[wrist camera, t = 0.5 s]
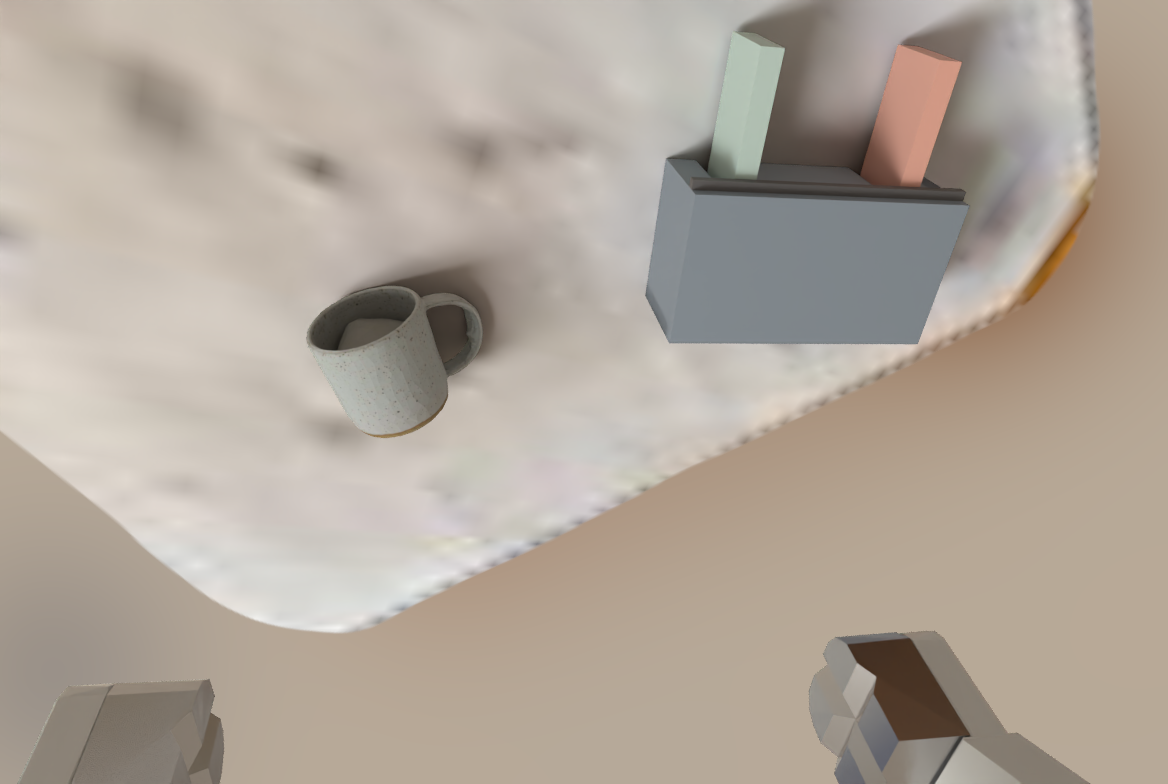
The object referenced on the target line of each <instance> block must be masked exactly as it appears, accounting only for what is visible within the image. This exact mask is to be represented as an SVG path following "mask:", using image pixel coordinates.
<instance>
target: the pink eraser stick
mask: <svg viewBox="0 0 1168 784" xmlns="http://www.w3.org/2000/svg"><path fill="white" fill-rule="evenodd" d="M961 64H962V62H961V61H958V60H955V59H952V58H950V57H947V56H944V55H941V54H938V53H936V52H933V51H930V50H927V49H924V48H921V47H919V46H908V45H898V46H897V50H896V53H895V57H894V60H893V64H892V67H891V71H890V74H889V77H888V81H887V84H886V88H885V91H884V95H883V98H882V102H881V105H880V108H879V112H878V115H877V119H876V122H875V126H874V129H873V133H872V136H871V139H870V143H869V146H868V150H867V153H866V157H865V160H864V164H863V167H862V170H861V174H860V177H862V178H863V179H865V180H866V181H867V182H869V183H870V184H872V185H885V186H907V187H920V186H921V183H922V180H923V177H924V174H925V171H926V168H927V165H928V162H929V159H930V156H931V153H932V150H933V147H934V144H935V141H936V138H937V135H938V132H939V129H940V126H941V123H942V120H943V117H944V114H945V111H946V108H947V105H948V102H949V99H950V96H951V94H952V91H953V88H954V85H955V82H956V79H957V76H958V73H959V70H960V67H961Z"/></svg>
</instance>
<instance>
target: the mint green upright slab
mask: <svg viewBox="0 0 1168 784" xmlns="http://www.w3.org/2000/svg"><path fill="white" fill-rule="evenodd" d="M784 51H785V48H784V47H782V46H780V45H778V44H776V43H774V42H772V41H770V40H768V39H766V38H764V37H762V36H760V35H758V34H756V33H749V32H737V31H733V33H732V39H731V44H730V50H729V55H728V61H727V66H726V72H725V77H724V83H723V88H722V94H721V99H720V105H719V110H718V115H717V121H716V126H715V132H714V137H713V143H712V148H711V154H710V159H709V165H708V170H707V173H708V175H709V176H710V177H711V178H728V179H751V180H757V175H758V170H759V166H760V161H761V157H762V152H763V147H764V143H765V138H766V134H767V129H768V124H769V120H770V115H771V111H772V106H773V101H774V97H775V92H776V88H777V83H778V78H779V74H780V69H781V65H782V60H783V56H784Z"/></svg>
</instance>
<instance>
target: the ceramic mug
mask: <svg viewBox="0 0 1168 784" xmlns="http://www.w3.org/2000/svg"><path fill="white" fill-rule="evenodd" d="M442 305H456V306H459V307H462V308H463V309H464V313H465V318H466V321H467V333H466V334H467V336H468V341H467V343H466V345H465V346H464V348H463V349H462V350H461V351H460V352H459V353H458V354H457V355H456V356H455V357H454V358H452V359H451V360H449V361H448V362H446V363H444V364H443V363H442V360H441V357H440V355H439V353H438V350H437V347H436V343H435V340H434V337H433V334H432V330H431V327H430V324H429V321H428V318H427V315H426V311H427V310H428V309H430V308H432V307H436V306H442ZM306 338H307V344H308V347H309V349H310V351H311V352H312V354H313V356H314V357H315V359H316V361H317V362H318V364H319V366H320V368H321V370H322V371H323V373H324V375H325V377H326V379H327V380H328V382H329V384H330V385H331V387H332V389H333V390H334V392H335V394H336V395H337V397H338V399H339V401H340V403H341V405H342V407H343V409H344V410H345V412H346V414H347V415H348V417H349V418H350V419H351V420H352V422H353V423H354V424H355V425H356V426H357V427H358V428H359V429H360V430H361V431H363V432H364V433H366V434H368V435H371V436H373V437H381V438H390V437H397V436H402V435H405V434H408V433H411V432H414V431H416V430H418V429H420V428H421V427H423V426H425V425H426V424H428V423H429V422H430V421H432V420H433V419H434V418H435V417H436V416H437V415H438V413H439V412H440V411H441V410H442V409H443V407H444V405H445V403H446V400H447V397H448V384H447V378H448V377H449V376H450V375H454V374H455V373H457V372H459V371H461V370H462V369H463V368H465V367H466V366H467V365H468V364H469V363H470V362H471V361H472V360H473V359H474V358H475V357H476V355H477V353H478V351H479V349H480V346H481V343H482V339H483V327H482V322H481V318H480V315H479V314H478V312H477V310H476V308H475V307H474V306H473V305H471V304H470V303H469V302H467V301H466V300H465V299H463V298H462V297H460V296H457V295H454V294H451V293H437V294H431V295H426V296H423V297H420V296H419V295H418V294H417V293H416V292H415V291H413V290H411V289H410V288H406V287H403V286H382V287H376V288H371V289H367V290H363V291H360V292H357V293H354V294H351V295H350V296H347V297H344V298H342V299H340V300H339V301H337V302H336V303H334V304H332V305H331V306H329V307H328V308H326V309H325V310H324V311H322V312H321V313H320V314H319V315H318V316H317V317H316V319H315V320H314V321H313V322H312V324H311V325H310V327H309V329H308V332H307V337H306Z"/></svg>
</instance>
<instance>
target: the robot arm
mask: <svg viewBox="0 0 1168 784" xmlns="http://www.w3.org/2000/svg"><path fill="white" fill-rule="evenodd" d="M823 655H824V657H825V659H826V661H827V664H828V665H826V666H825V667H824V668H823V669H821V670H820V671H819V672H817V673H816V674H815V675H814V678H813V680H812V683H811V686H810V689H809V710H810V714H811V718H812V722H813V726H814V728H815V730H816V733H817V735H818V738H819V740H820V742H821V744H823V745H824V746H825V747H826V748H827V749H829V750H830V751H831V752H832V753H834V754H835V755H836V756H837V757H838V758H837V763H836V768H835V772H834V774H835V776H836V778H837V781H838V783H839V784H1090V783H1089V782H1087V781H1085V780H1084V779H1083V778H1081V777H1080V776H1079V775H1077V774H1076V773H1074V772H1073V771H1071V770H1070V769H1069V768H1067V767H1066V766H1064V765H1063V764H1061V763H1060V762H1059V761H1057V760H1056V759H1054V758H1053V757H1051V756H1050V755H1049V754H1047V753H1046V752H1044V751H1043V750H1041V749H1040V748H1039V747H1037V746H1036V745H1034V744H1033V743H1031V742H1030V741H1029V740H1027V739H1026V738H1024V737H1023V736H1021V735H1020V734H1018V733H1007V731H1006V730H1005V729H1004V727H1003V725H1002V724H1001V722H1000V721H999V719H998V718H997V717H996V715H995V714H994V712H993V710H992V709H991V707H990V706H989V704H988V703H987V702H986V700H985V699H984V697H983V696H982V694H981V693H980V691H979V690H978V688H977V687H976V685H975V684H974V682H973V681H972V679H971V678H970V676H969V675H968V673H967V672H966V670H965V669H964V667H963V666H962V664H961V663H960V661H959V660H958V658H957V657H956V655H955V654H954V652H953V651H952V649H951V648H950V646H949V645H948V643H947V642H946V641H945V639H944V638H943V637H942V636H940V635H939V634H938V633H937V632H935V631H921V632H909V633H897V632H894V633H883V634H870V635H857V636H845V637H835V638H834V639H832V640H831V641H830V642H828V644H827V646H826V649H825V651H824V653H823ZM214 697H215V695H214V692H213V689H212V685H211V682H210V679H204V680H183V681H161V682H160V681H159V682H139V683H138V682H137V683H111V684H95V685H78V686H68V687H67V688H66V689H65V691H64V692H63V693H62V694H61V695H60V696H59V697H58V699H57V700H56V701H55V703H54V706H53V708H52V710H51V712H50V714H49V717H48V718H47V721H46V723H45V725H44V727H43V729H42V732H41V734H40V736H39V738H38V740H37V742H36V745H35V747H34V749H33V751H32V753H31V755H30V757H29V759H28V762H27V764H26V766H25V768H24V770H23V772H22V775H21V777H20V779H19V781H18V783H17V784H219V783H220V779H221V774H222V764H223V754H224V737H223V728H222V724H221V719H220V718H218V717H217V716H215V715H214V714H212V713H211V709H212V705H213V701H214Z"/></svg>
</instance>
